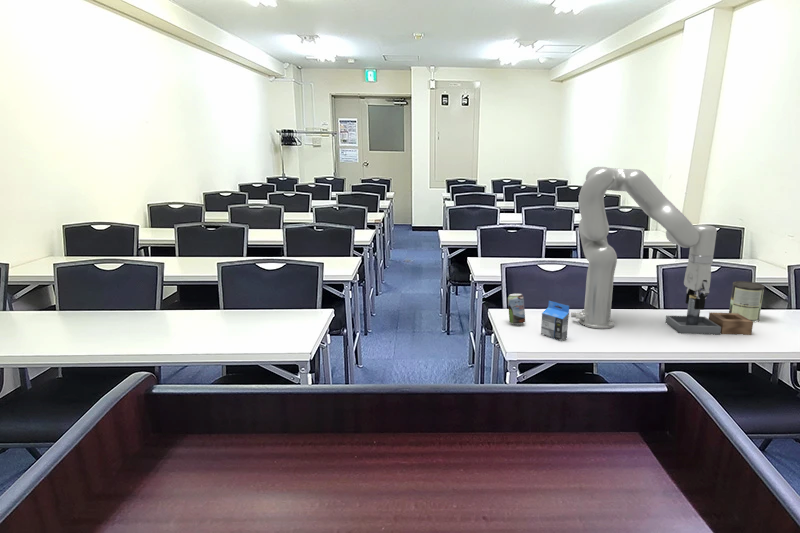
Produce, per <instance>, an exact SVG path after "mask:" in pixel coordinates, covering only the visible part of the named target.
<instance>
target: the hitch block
mask: <svg viewBox="0 0 800 533" xmlns="http://www.w3.org/2000/svg"><path fill="white" fill-rule="evenodd" d="M708 319H709V320H711V321H713V322H714V323H716V324H717V325H719V326H720V327H721V332H720V335H737V334H743V335H742V336H751V335H752V333H753V328H754V326H753V325H754V322H753V321H751V320H749V319H747V318H745V317H744V316H742V315H740V314H738V313H729V312H710V311H709V313H708Z"/></svg>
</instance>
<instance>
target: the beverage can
mask: <svg viewBox="0 0 800 533" xmlns="http://www.w3.org/2000/svg"><path fill="white" fill-rule="evenodd" d="M507 305H508V308H507V309H508V319H509V320H508V321H509V323H510V324H511V323H513V324H512V325H514V324H517V325H518V324H519V325H523V324H524V323H525V322H526V314H525V313H526V312H525V310H526V309H525V297H524V295H523V293H510V294H509V295H508V297H507Z"/></svg>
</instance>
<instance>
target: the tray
mask: <svg viewBox="0 0 800 533" xmlns="http://www.w3.org/2000/svg"><path fill="white" fill-rule="evenodd" d="M686 318H687V315H669V314H668V315H666V316H665V324H666V323H667V326H669V327H670V328H671V329H672V330H674V331H675V332H677V333H678V334H683V335H686V334H687V335H688V334H689V335H711V334H713V335H714V334H715V335H714V336H717V335H719V336H720V335H721V333H720V332H721V327H720V326H719V325H717V324H716V323H714V322H713V321H711V320H709V317H708V318H707V317H706V316H700V315H699V323H698V326H697V325H686Z"/></svg>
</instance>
